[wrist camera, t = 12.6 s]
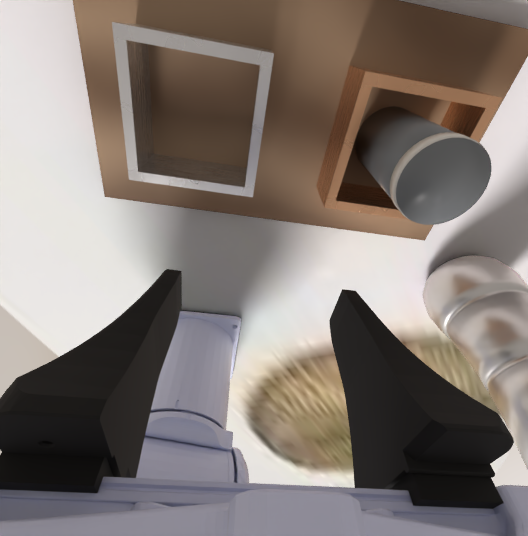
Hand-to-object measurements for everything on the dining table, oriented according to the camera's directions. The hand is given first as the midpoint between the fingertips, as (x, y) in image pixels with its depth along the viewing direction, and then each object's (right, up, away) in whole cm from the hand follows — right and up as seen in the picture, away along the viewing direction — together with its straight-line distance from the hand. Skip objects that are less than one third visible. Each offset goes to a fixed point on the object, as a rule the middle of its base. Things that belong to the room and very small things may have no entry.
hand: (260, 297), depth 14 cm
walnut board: (+2, +10, +4) cm, 11 cm away
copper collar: (+7, +9, +5) cm, 13 cm away
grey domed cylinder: (+7, +9, +4) cm, 12 cm away
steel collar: (-3, +10, +3) cm, 11 cm away
